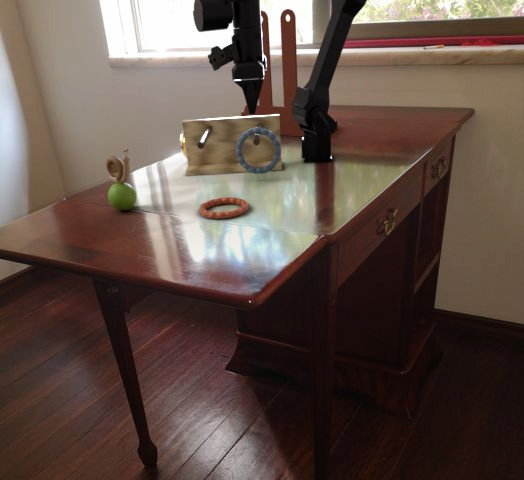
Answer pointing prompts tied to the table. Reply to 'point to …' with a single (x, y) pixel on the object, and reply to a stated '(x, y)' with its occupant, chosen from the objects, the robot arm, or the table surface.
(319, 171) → the table surface
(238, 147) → the slate ring
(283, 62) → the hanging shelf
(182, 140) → the ring
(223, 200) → the terracotta ring
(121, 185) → the snail figurine
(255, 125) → the peg rack
